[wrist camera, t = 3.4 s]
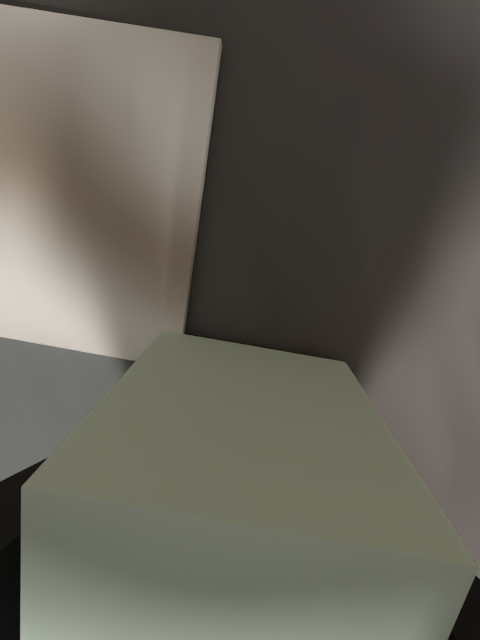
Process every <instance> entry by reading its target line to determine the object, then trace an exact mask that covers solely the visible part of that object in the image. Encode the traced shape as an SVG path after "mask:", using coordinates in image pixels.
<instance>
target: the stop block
mask: <svg viewBox="0 0 480 640" xmlns="http://www.w3.org/2000/svg"><path fill="white" fill-rule="evenodd" d="M478 569H479V566H478V565H477V563H476V562H475V560H474V558H473V557H472V555H471V554H470V552H469V551H468V549H467V548H466V546H465V545H464V543H463V542H462V540H461V538H460V537H459V535H458V534H457V532H456V531H455V529H454V528H453V526H452V525H451V523H450V522H449V520H448V519H447V517H446V515H445V514H444V512H443V511H442V509H441V508H440V506H439V505H438V503H437V502H436V500H435V499H434V497H433V496H432V494H431V492H430V491H429V489H428V488H427V486H426V485H425V483H424V482H423V480H422V479H421V477H420V476H419V474H418V472H417V471H416V469H415V468H414V466H413V465H412V463H411V462H410V460H409V459H408V457H407V456H406V454H405V453H404V451H403V449H402V448H401V446H400V445H399V443H398V442H397V440H396V439H395V437H394V436H393V434H392V433H391V431H390V430H389V428H388V426H387V425H386V423H385V422H384V420H383V419H382V417H381V416H380V414H379V413H378V411H377V410H376V408H375V406H374V405H373V403H372V402H371V400H370V399H369V397H368V396H367V394H366V393H365V391H364V390H363V388H362V387H361V385H360V383H359V382H358V380H357V379H356V377H355V376H354V374H353V373H352V371H351V370H350V368H349V367H348V365H347V364H346V362H342V361H337V360H331V359H325V358H319V357H313V356H308V355H302V354H296V353H290V352H285V351H279V350H273V349H267V348H261V347H256V346H250V345H244V344H238V343H232V342H227V341H221V340H215V339H209V338H204V337H198V336H192V335H186V334H180V333H175V332H169V331H163V332H162V333H161V334H160V335H159V336H158V337H157V338H156V339H155V340H154V341H153V343H152V344H151V345H150V346H149V347H148V348H147V349H146V350H145V351H144V352H143V354H142V355H141V356H140V357H139V358H138V359H137V360H136V361H135V362H134V363H133V365H132V366H131V367H130V368H129V369H128V370H127V371H126V372H125V373H124V374H123V376H122V377H121V378H120V379H119V380H118V381H117V382H116V383H115V384H114V385H113V387H112V388H111V389H110V390H109V391H108V392H107V393H106V394H105V395H104V396H103V398H102V399H101V400H100V401H99V402H98V403H97V404H96V405H95V406H94V407H93V409H92V410H91V411H90V412H89V413H88V414H87V415H86V416H85V417H84V418H83V420H82V421H81V422H80V423H79V424H78V425H77V426H76V427H75V428H74V429H73V431H72V432H71V433H70V434H69V435H68V436H67V437H66V438H65V439H64V440H63V442H62V443H61V444H60V445H59V446H58V447H57V448H56V449H55V450H54V451H53V453H52V454H51V455H50V456H49V457H48V458H47V459H46V460H45V461H44V462H43V464H42V465H41V466H40V467H39V468H38V469H37V470H36V471H35V472H34V473H33V474H32V476H31V477H30V478H29V479H28V480H27V481H26V482H25V483H24V484H23V485H22V487H21V592H20V640H448V638H449V636H450V633H451V631H452V629H453V626H454V624H455V622H456V619H457V617H458V615H459V612H460V610H461V608H462V606H463V603H464V601H465V599H466V596H467V594H468V592H469V589H470V587H471V585H472V583H473V580H474V578H475V576H476V573H477V571H478Z"/></svg>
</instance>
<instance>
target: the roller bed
mask: <svg viewBox="0 0 480 640" xmlns="http://www.w3.org/2000/svg"><path fill="white" fill-rule="evenodd" d="M221 51H222V42H221V38H215V37H208V36H202V35H196V34H189V33H183V32H176V31H170V30H164V29H157V28H151V27H144V26H138V25H132V24H125V23H119V22H112V21H106V20H100V19H93V18H87V17H80V16H74V15H67V14H61V13H55V12H48V11H42V10H35V9H29V8H23V7H16V6H10V5H3V4H0V337H5V338H10V339H16V340H21V341H27V342H33V343H38V344H44V345H49V346H55V347H60V348H66V349H71V350H77V351H82V352H88V353H93V354H99V355H105V356H110V357H116V358H121V359H127V360H132V361H136V360H137V359H138V358H139V357H140V356H141V355H142V354H143V352H144V351H145V350H146V349H147V348H148V347H149V346H150V345H151V344H152V343H153V341H154V340H155V339H156V338H157V337H158V336H159V335H160V334H161V333H162V332H163V331H169V332H175V333H180V334H184V333H185V325H186V318H187V310H188V303H189V295H190V287H191V280H192V272H193V264H194V257H195V249H196V242H197V234H198V226H199V219H200V211H201V203H202V196H203V188H204V181H205V173H206V165H207V158H208V150H209V142H210V135H211V127H212V120H213V112H214V104H215V97H216V89H217V81H218V74H219V66H220V59H221Z"/></svg>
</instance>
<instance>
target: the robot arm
mask: <svg viewBox="0 0 480 640" xmlns="http://www.w3.org/2000/svg"><path fill="white" fill-rule="evenodd" d="M46 459H47V458H46ZM46 459H44V460H42V461H40V462H38V463H36V464H34V465H32V466H30V467H28V468H26V469H24V470H22V471H20V472H18V473H16V474H15V475H13V476H11V477H9V478H7V479H5V480H3V481H1V482H0V640H20V592H21V487H22V485H23V484H24V483H25V482H26V481H27V480H28V479H29V478H30V477H31V476H32V474H33V473H34V472H35V471H36V470H37V469H38V468H39V467H40V466H41V465H42V464H43V462H44V461H45V460H46ZM448 640H480V579H479V578H478V577H476V576H475V578H474V580H473V583H472V585H471V587H470V589H469V592H468V594H467V596H466V599H465V601H464V603H463V606H462V608H461V610H460V612H459V615H458V617H457V619H456V622H455V624H454V626H453V629H452V631H451V633H450V636H449V638H448Z"/></svg>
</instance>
